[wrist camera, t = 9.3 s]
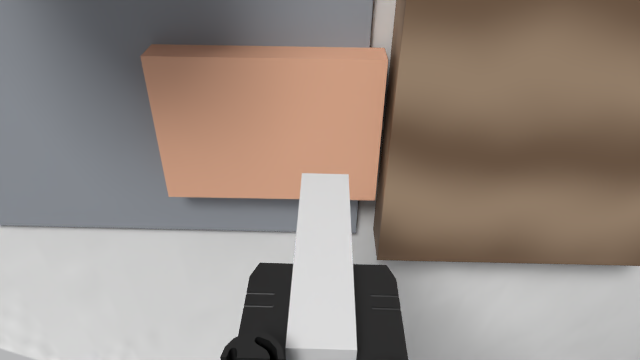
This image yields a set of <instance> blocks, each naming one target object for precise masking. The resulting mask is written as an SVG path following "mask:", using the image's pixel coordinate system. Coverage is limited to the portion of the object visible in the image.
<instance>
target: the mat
mask: <svg viewBox="0 0 640 360" xmlns="http://www.w3.org/2000/svg"><path fill="white" fill-rule="evenodd" d="M372 8H373V0H0V225H10V226H57V227H103V228H149V229H195V230H241V231H287V232H296V231H297V220H298V210H299V199H263V198H206V197H169V196H168V191H167V186H166V181H165V176H164V171H163V166H162V161H161V156H160V151H159V146H158V141H157V137H156V132H155V127H154V122H153V117H152V112H151V107H150V102H149V97H148V92H147V87H146V82H145V77H144V72H143V67H142V62H141V57H140V56H141V55H142V54H143V53H144V52H145V51H146V50H147V49H148V48H149V46H150V45H151V44H170V45H233V46H295V47H358V48H370V35H371V21H372ZM357 208H358V200H350V214H351V233H356V222H357Z"/></svg>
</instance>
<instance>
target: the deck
mask: <svg viewBox="0 0 640 360" xmlns="http://www.w3.org/2000/svg"><path fill="white" fill-rule="evenodd" d="M373 230H374V238H375V247H376V255H377V260H401V261H446V262H492V263H538V264H584V265H630V266H640V0H396V9H395V19H394V29H393V39H392V48H391V58H390V68H389V78H388V88H387V98H386V108H385V118H384V128H383V138H382V148H381V158H380V167H379V177H378V187H377V197H376V207H375V217H374V227H373Z"/></svg>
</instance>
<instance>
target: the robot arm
mask: <svg viewBox="0 0 640 360" xmlns="http://www.w3.org/2000/svg"><path fill="white" fill-rule="evenodd" d="M220 358H221V360H408V356H407V350H406V343H405V336H404V329H403V322H402V316H401V311H400V302H399V298H398V288H397V282H396V278H395V277H394V275H393V274H392V272H391V271H390V269H389V268H388V267H387V265H359V264H353V255H352V234H351V214H350V193H349V174H317V173H302V178H301V189H300V199H299V210H298V220H297V231H296V241H295V252H294V263H293V264H282V263H259V265H258V266H257V267H256V269H255V270H254V271H253V273H252V274H251V275H250V278H249V283H248V288H247V295H246V298H245V304H244V309H243V314H242V319H241V324H240V329H239V335H238V337H236V338H234V339H233V340H232V341H231V342H230V343H228V344H227V345H226V346H225V348H224V350H223V353H222V355H221V357H220Z"/></svg>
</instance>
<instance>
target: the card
mask: <svg viewBox="0 0 640 360" xmlns="http://www.w3.org/2000/svg"><path fill="white" fill-rule="evenodd" d="M140 57H141V62H142V67H143V72H144V77H145V82H146V87H147V92H148V97H149V102H150V107H151V112H152V117H153V122H154V127H155V132H156V137H157V141H158V146H159V151H160V156H161V161H162V166H163V171H164V176H165V181H166V186H167V191H168V196H169V197H206V198H263V199H300V189H301V178H302V173H317V174H349V193H350V200H375V196H376V185H377V174H378V163H379V153H380V142H381V131H382V120H383V110H384V99H385V88H386V78H387V67H388V58H387V55H386V51H385V48H358V47H295V46H233V45H170V44H151V45H150V46H149V48H148V49H147V50H146V51H145V52H144V53H143V54H142V55H141V56H140Z"/></svg>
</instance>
